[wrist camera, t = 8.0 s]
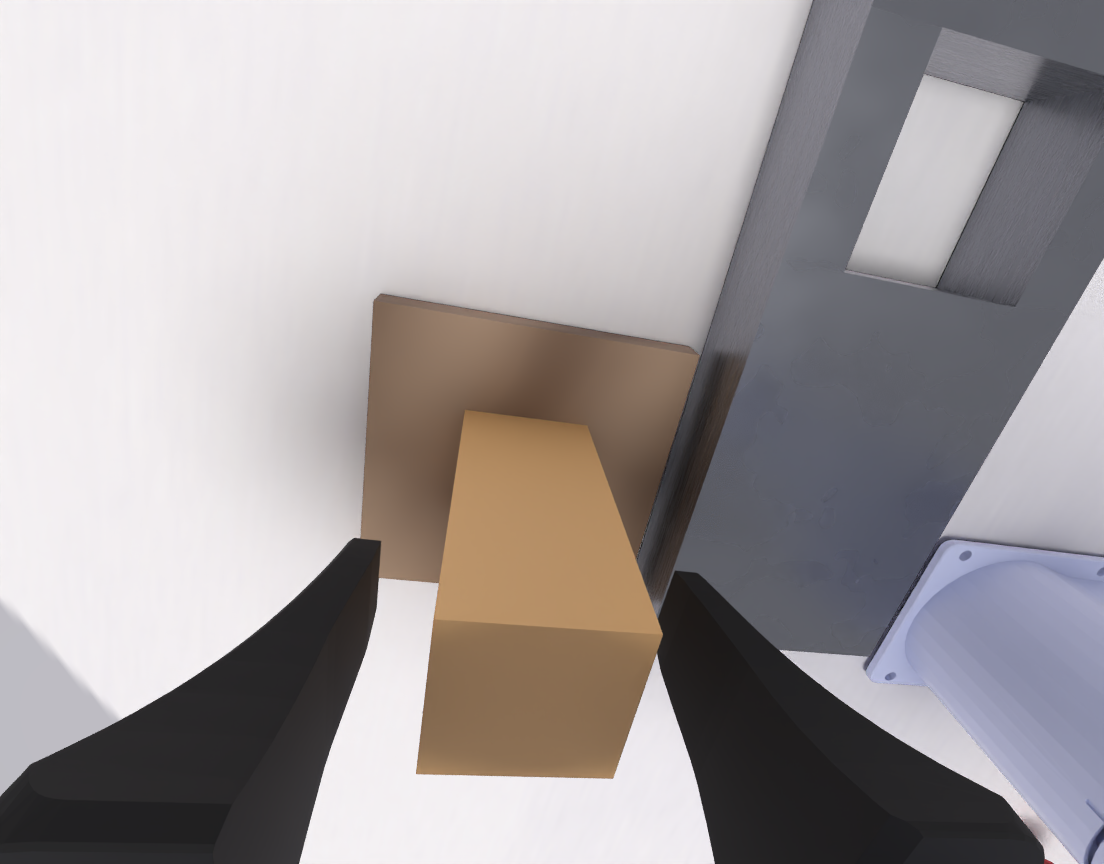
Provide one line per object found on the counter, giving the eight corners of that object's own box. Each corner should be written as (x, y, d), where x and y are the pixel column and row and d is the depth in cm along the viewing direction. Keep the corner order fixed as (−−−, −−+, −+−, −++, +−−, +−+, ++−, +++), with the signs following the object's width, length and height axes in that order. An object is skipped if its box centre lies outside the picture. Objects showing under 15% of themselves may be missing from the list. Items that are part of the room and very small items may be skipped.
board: (689, 346, 18) (699, 355, 17) (618, 582, 22) (623, 599, 21) (380, 293, 16) (373, 300, 15) (364, 558, 20) (358, 575, 19)
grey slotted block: (1146, -22, 14) (1295, -70, 12) (826, 601, 23) (869, 656, 21) (852, -122, 13) (944, -202, 10) (629, 583, 22) (648, 639, 19)
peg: (587, 425, 18) (662, 634, 9) (564, 526, 19) (612, 778, 11) (465, 409, 17) (433, 619, 9) (452, 514, 19) (415, 774, 10)
